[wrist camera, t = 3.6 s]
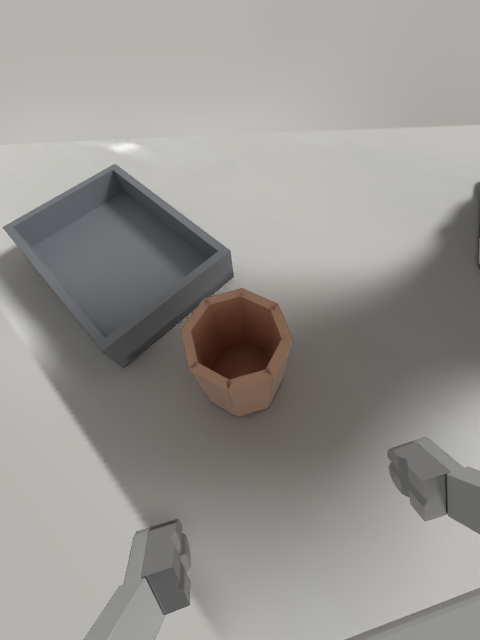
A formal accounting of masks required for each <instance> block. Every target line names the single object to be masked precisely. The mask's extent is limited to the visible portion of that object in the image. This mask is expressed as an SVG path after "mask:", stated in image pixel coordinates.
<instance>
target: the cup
mask: <svg viewBox="0 0 480 640" xmlns="http://www.w3.org/2000/svg"><path fill="white" fill-rule="evenodd" d="M181 334H182V339H183V344H184V349H185V354H186V359H187V364H188V369H189V370H190V372H191V373H192V375H193V376H194V378H195V379H196V381H197V382H198V384H199V385H200V387H201V388H202V390H203V391H204V393H205V394H206V396H207V397H208V399H209V400H210V402H212V403H214V404H215V405H217V406H219V407H221V408H222V409H224V410H226V411H228V412H229V413H231V414H233V415H234V416H236V417H240V416H243V415H247V414H250V413H253V412H256V411H260V410H263V409H266V408H269V406H270V404H271V402H272V400H273V398H274V396H275V394H276V392H277V390H278V388H279V386H280V384H281V382H282V379H283V375H284V371H285V367H286V364H287V360H288V356H289V352H290V348H291V344H292V341H293V339H292V337H291V334H290V332H289V329H288V327H287V324H286V322H285V320H284V317H283V315H282V312H281V310H280V307H279V305H278V304H277V303H275V302H273V301H270V300H268V299H266V298H264V297H261V296H259V295H257V294H254V293H252V292H250V291H247V290H245V289H243V288H241V289H237V290H234V291H230V292H226V293H222V294H218V295H215V296H211V297H207V298H204V299H203V300H202V301H201V303H200V304H199V306H198V307H197V308H196V310H195V311H194V313H193V314H192V315H191V317H190V318H189V320H188V321H187V322H186V324H185V325H184V326H183V328H182V329H181Z"/></svg>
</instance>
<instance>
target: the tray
mask: <svg viewBox="0 0 480 640" xmlns="http://www.w3.org/2000/svg"><path fill="white" fill-rule="evenodd" d="M3 229H4V230H5V231H6V232H7V234H8V235H9V236H10V237H11V239H12V240H13V241H14V242H15V244H16V245H17V246H18V247H19V249H20V250H21V251H22V252H23V254H24V255H25V256H26V257H27V259H28V260H29V261H30V262H31V263H32V265H33V266H34V267H35V268H36V270H37V271H38V272H39V273H40V275H41V276H42V277H43V278H44V280H45V281H46V282H47V283H48V285H49V286H50V287H51V288H52V290H53V291H54V292H55V293H56V295H57V296H58V297H59V298H60V300H61V301H62V302H63V303H64V305H65V306H66V307H67V308H68V310H69V311H70V312H71V313H72V315H73V316H74V317H75V318H76V320H77V321H78V322H79V323H80V325H81V326H82V327H83V328H84V330H85V331H86V332H87V333H88V335H89V336H90V337H91V338H92V339H93V341H94V342H95V343H96V344H97V346H98V347H99V348H100V349H101V351H102V352H103V353H105V354H106V355H107V356H109V357H110V358H111V359H112V360H114V361H115V362H116V363H118V364H119V365H120V366H122V367H123V368H124V367H125V366H126V365H127V364H129V363H130V362H131V361H132V360H133V359H135V358H136V357H137V356H138V355H139V354H141V353H142V352H143V351H144V350H146V349H147V348H148V347H149V346H150V345H152V344H153V343H154V342H155V341H156V340H158V339H159V338H160V337H161V336H162V335H164V334H165V333H166V332H167V331H169V330H170V329H171V328H172V327H173V326H175V325H176V324H177V323H178V322H179V321H181V320H182V319H183V318H184V317H185V316H187V315H188V314H189V313H190V312H192V311H193V310H194V309H195V308H196V307H198V306H199V304H200V303H201V301H202V300H203V299H204V298H207V297H210V296H211V295H212V294H213V293H215V292H216V291H217V290H218V289H219V288H221V287H222V286H223V285H224V284H225V283H227V282H228V281H229V280H230V279H231V278H233V277H234V276H233V268H232V260H231V252H230V250H229V249H227V248H226V247H225V246H223V245H222V244H221V243H219V242H218V241H217V240H215V239H214V238H213V237H211V236H210V235H209V234H207V233H206V232H205V231H204V230H202V229H201V228H200V227H198V226H197V225H196V224H194V223H193V222H192V221H190V220H189V219H188V218H186V217H185V216H184V215H182V214H181V213H180V212H178V211H177V210H176V209H174V208H173V207H172V206H170V205H169V204H168V203H166V202H165V201H164V200H162V199H161V198H160V197H158V196H157V195H156V194H154V193H153V192H152V191H150V190H149V189H148V188H146V187H145V186H144V185H142V184H141V183H140V182H138V181H137V180H136V179H134V178H133V177H132V176H130V175H129V174H128V173H127V172H125V171H124V170H123V169H121V168H120V167H119V166H117V165H116V164H114V165H112V166H110V167H108V168H107V169H105V170H103V171H101V172H99V173H98V174H96V175H94V176H92V177H91V178H89V179H87V180H85V181H84V182H82V183H80V184H78V185H76V186H75V187H73V188H71V189H69V190H68V191H66V192H64V193H62V194H61V195H59V196H57V197H55V198H53V199H52V200H50V201H48V202H46V203H45V204H43V205H41V206H39V207H38V208H36V209H34V210H32V211H30V212H29V213H27V214H25V215H23V216H22V217H20V218H18V219H16V220H14V221H13V222H11V223H9V224H7V225H6V226H4V227H3Z"/></svg>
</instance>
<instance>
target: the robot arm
mask: <svg viewBox="0 0 480 640" xmlns="http://www.w3.org/2000/svg"><path fill="white" fill-rule="evenodd" d="M479 265H480V240H479ZM387 453H388V458H389V459H390V460H391V464H390V466H389V471H390V475H391V478H392V480H393V482H394V484H395V486H396V487H397V489H398V490H399V491H400V492H401V493H402V494H403V495H405V496H408V497H410V504H411V506H412V507H413V508H414V509H415V510H416V512H417V513H418V514H419V515H420V516H421V518H422V519H423V520H424V521H428V520H431V519H434V518H438V517H441V516H444V515H447V514H448V516H449V517H451V518H453V519H454V520H456V521H458V522H460V523H461V524H463V525H465V526H467V527H468V528H470V529H472V530H473V531H475V532H477V533H479V534H480V471H479V470H476V469H473V468H470V467H465V468H464V467H463V466H461V465H460V464H459V463H458V462H457V461H455V460H454V459H453V458H452V457H450V456H449V455H448V454H447V453H446V452H444V451H443V450H442V449H441V448H440V447H438V446H437V445H436V444H435V443H433V442H432V441H431V440H430V439H429V438H426V437H423V438H420V439H417V440H414V441H411V442H408V443H405V444H402V445H399V446H396V447H393V448H390V449H388V452H387ZM189 568H190V548H189V543H188V540H187V537H186V535H185V534H183V533H182V525H181V522H180V520H179V519H176V520H173V521H169V522H166V523H163V524H159V525H156V526H153V527H150V528H147V529H143V530H140V531H137V532H136V533H135V535H134V537H133V542H132V547H131V552H130V556H129V561H128V566H127V571H126V575H125V580H124V585H122V586H119V587H118V589H117V590H116V592H115V593H114V595H113V596H112V598H111V599H110V601H109V602H108V604H107V605H106V607H105V608H104V610H103V611H102V613H101V614H100V616H99V617H98V619H97V620H96V622H95V623H94V625H93V627H92V628H91V629H90V631H89V632H88V634H87V635H86V637H85V638H84V640H155V638H156V636H157V634H158V631H159V629H160V626H161V624H162V622H163V620H164V615H166V614H169V613H171V612H174V611H176V610H179V609H181V608H184V607H186V606H189V605H190V579H189V577H188V575H187V572H188V570H189ZM345 640H480V588H478V589H476V590H473V591H470V592H468V593H465V594H463V595H460V596H457V597H455V598H452V599H450V600H447V601H444V602H442V603H439V604H437V605H434V606H431V607H429V608H426V609H423V610H421V611H418V612H416V613H413V614H410V615H408V616H405V617H403V618H400V619H397V620H395V621H392V622H389V623H387V624H384V625H382V626H379V627H376V628H374V629H371V630H369V631H366V632H363V633H361V634H358V635H356V636H353V637H350V638H348V639H345Z"/></svg>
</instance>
